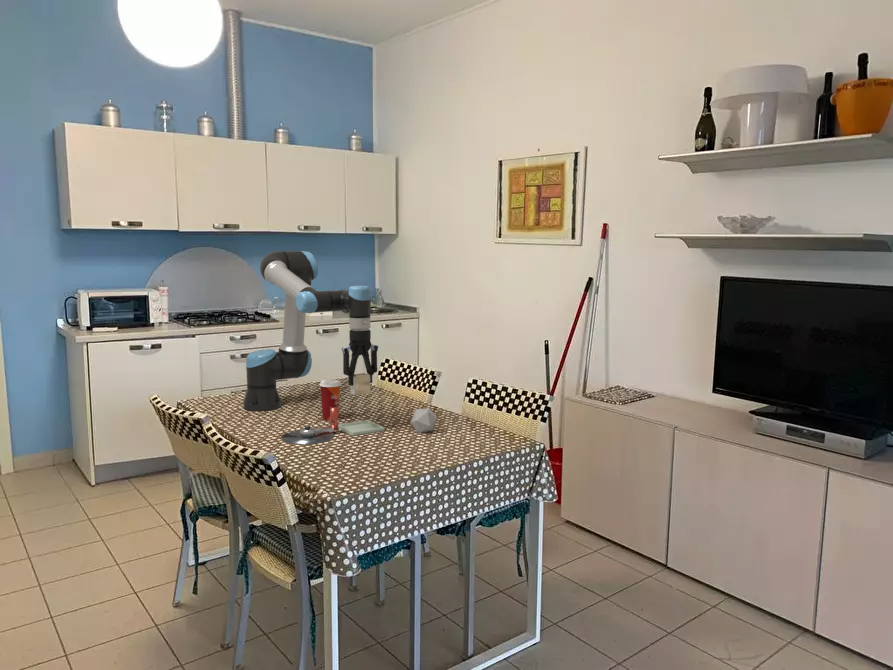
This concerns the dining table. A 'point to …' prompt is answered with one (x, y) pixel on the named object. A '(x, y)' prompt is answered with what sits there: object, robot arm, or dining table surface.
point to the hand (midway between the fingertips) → (360, 393)
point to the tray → (360, 428)
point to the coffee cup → (329, 396)
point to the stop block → (362, 384)
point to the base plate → (296, 438)
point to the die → (423, 420)
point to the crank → (332, 427)
